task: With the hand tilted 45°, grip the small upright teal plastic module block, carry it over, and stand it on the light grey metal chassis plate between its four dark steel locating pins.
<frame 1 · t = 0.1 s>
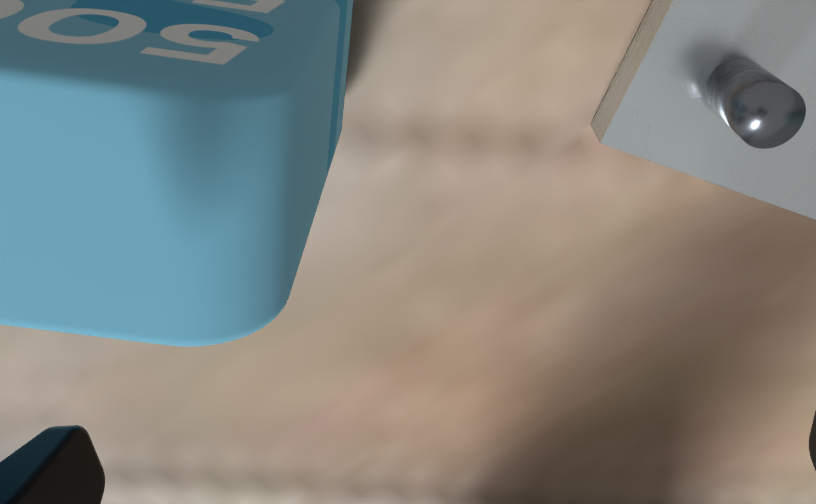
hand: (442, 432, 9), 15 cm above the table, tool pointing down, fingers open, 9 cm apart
blue printed box: (149, 15, 21), on the table
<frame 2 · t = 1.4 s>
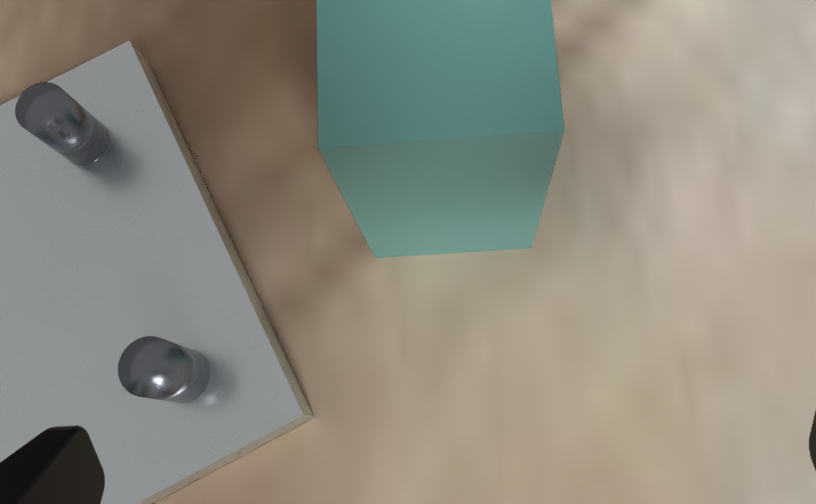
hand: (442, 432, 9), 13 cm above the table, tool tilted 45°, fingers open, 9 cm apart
chassis: (34, 325, 24), on the table
module box: (448, 180, 24), on the table
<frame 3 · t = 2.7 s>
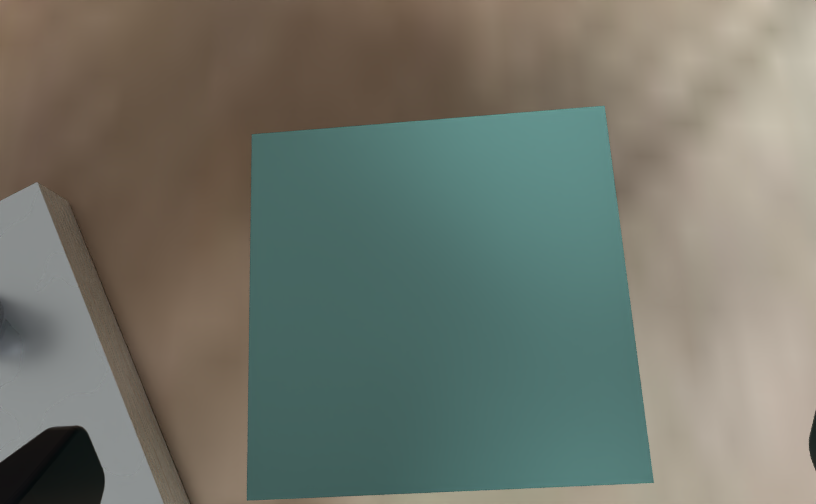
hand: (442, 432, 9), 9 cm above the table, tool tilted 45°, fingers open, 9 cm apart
module box: (454, 369, 18), on the table
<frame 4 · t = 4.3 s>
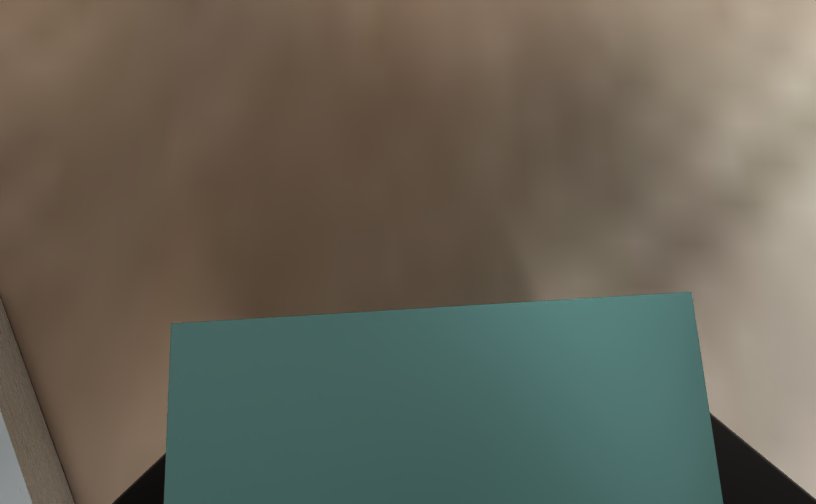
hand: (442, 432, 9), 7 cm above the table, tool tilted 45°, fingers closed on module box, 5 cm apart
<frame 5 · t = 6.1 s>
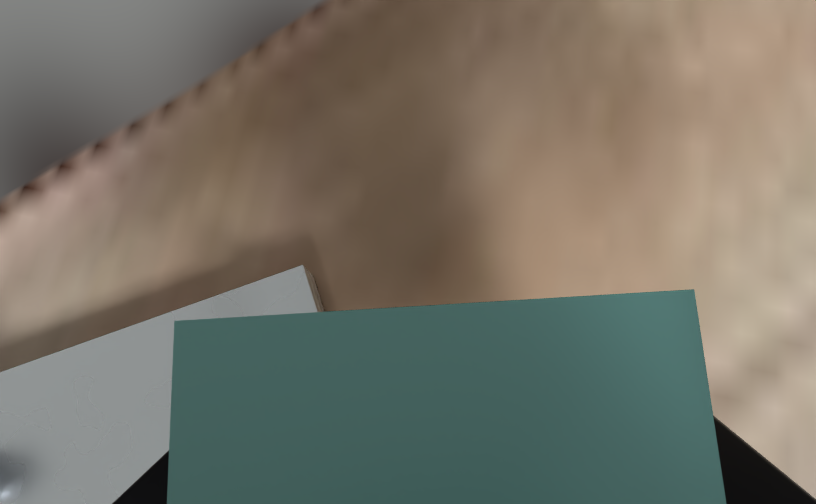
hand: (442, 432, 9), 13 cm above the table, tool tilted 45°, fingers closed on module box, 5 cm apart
when the fingers open (9 cm above the table, at t = 8.2 s): module box drops 1 cm, resting on chassis.
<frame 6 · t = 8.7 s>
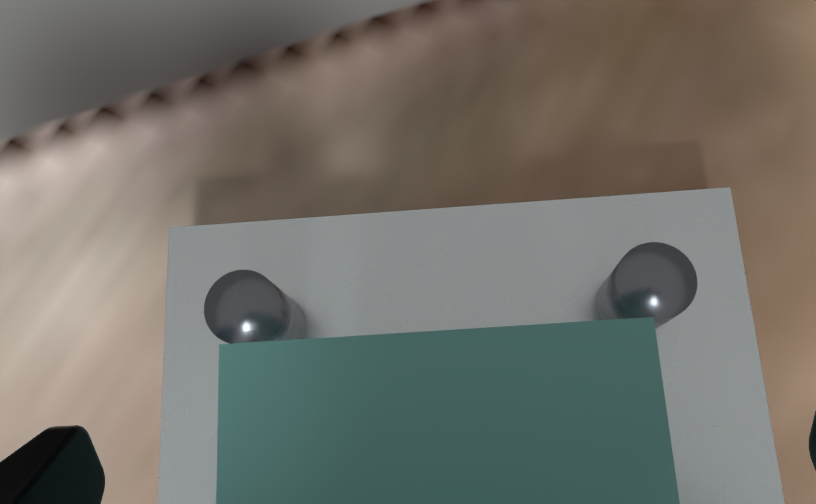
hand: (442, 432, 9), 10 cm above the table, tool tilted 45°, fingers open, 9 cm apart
chassis: (461, 499, 18), on the table
module box: (460, 503, 16), point 1 cm above the table, touching chassis
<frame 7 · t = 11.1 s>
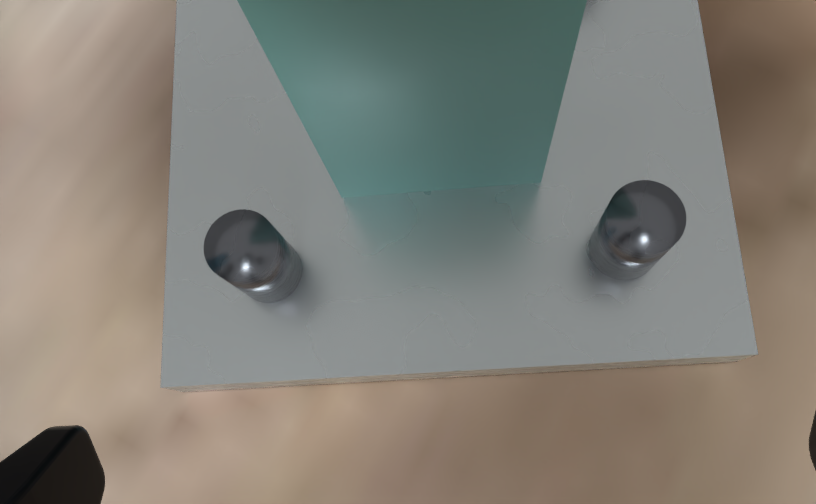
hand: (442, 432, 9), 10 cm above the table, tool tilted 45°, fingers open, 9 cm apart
chassis: (436, 124, 20), on the table
module box: (434, 99, 19), point 1 cm above the table, touching chassis
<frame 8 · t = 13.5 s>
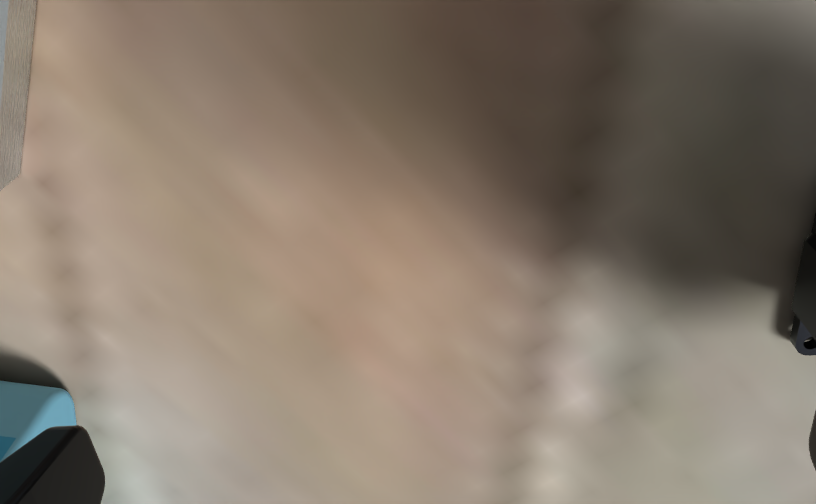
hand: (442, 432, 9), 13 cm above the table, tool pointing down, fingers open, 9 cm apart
blue printed box: (30, 477, 29), on the table
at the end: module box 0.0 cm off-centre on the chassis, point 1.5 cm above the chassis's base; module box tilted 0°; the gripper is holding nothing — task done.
